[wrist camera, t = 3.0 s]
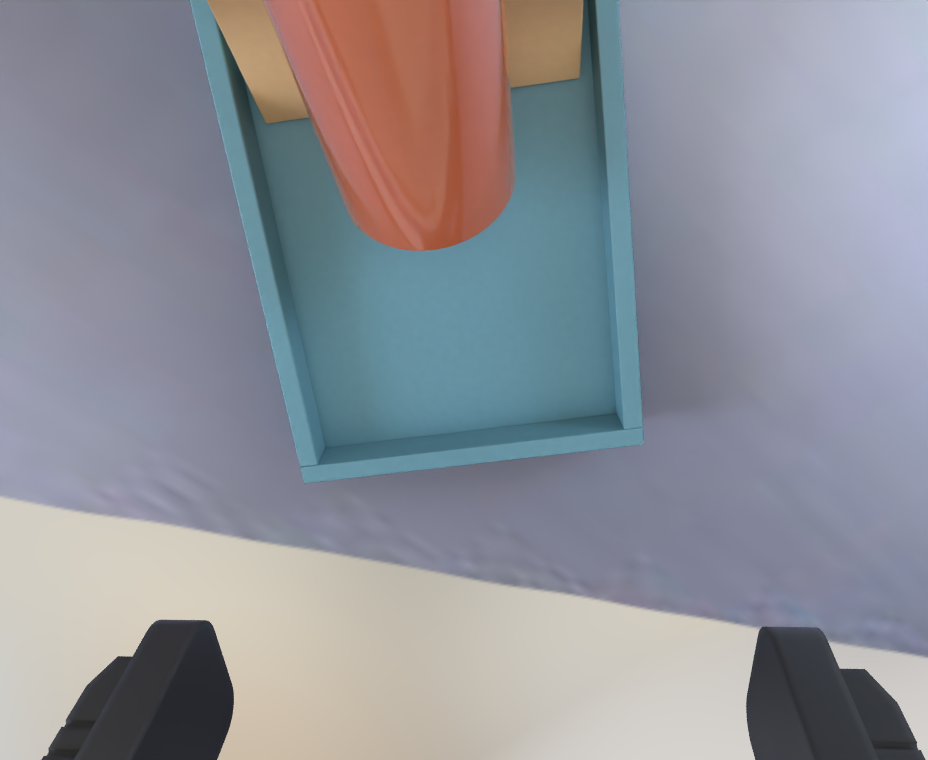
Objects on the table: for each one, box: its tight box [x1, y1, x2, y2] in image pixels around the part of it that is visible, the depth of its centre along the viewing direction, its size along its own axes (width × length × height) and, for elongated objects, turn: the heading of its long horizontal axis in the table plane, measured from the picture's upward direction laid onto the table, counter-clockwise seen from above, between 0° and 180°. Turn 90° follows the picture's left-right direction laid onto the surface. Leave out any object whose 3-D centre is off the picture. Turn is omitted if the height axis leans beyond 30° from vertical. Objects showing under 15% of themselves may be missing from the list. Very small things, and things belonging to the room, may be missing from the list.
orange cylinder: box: [262, 0, 516, 251], centre depth 23 cm, size 12×6×12 cm, turn 8°
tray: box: [190, 0, 644, 483], centre depth 28 cm, size 26×15×3 cm, turn 8°
